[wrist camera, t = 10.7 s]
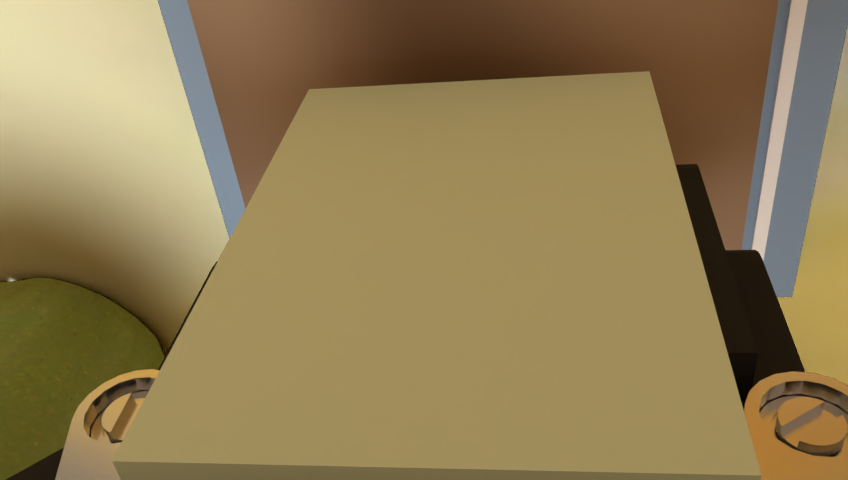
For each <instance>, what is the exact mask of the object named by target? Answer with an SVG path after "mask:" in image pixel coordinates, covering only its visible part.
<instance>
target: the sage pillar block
mask: <svg viewBox="0 0 848 480" xmlns="http://www.w3.org/2000/svg"><path fill="white" fill-rule="evenodd" d="M112 462H113V464H114V466H115V468H116V470H117V472H118V474H119V476H120V478H121V480H761V476H762V475H761V471H760V468H759V464H758V460H757V457H756V453H755V450H754V446H753V442H752V439H751V435H750V432H749V428H748V424H747V421H746V417H745V414H744V410H743V406H742V403H741V399H740V396H739V392H738V388H737V385H736V381H735V378H734V374H733V370H732V367H731V363H730V360H729V356H728V352H727V349H726V345H725V342H724V338H723V334H722V331H721V327H720V324H719V320H718V316H717V313H716V309H715V306H714V302H713V298H712V295H711V291H710V288H709V284H708V280H707V277H706V273H705V270H704V266H703V262H702V259H701V255H700V252H699V248H698V244H697V241H696V237H695V234H694V230H693V226H692V223H691V219H690V216H689V212H688V208H687V205H686V201H685V198H684V194H683V190H682V187H681V183H680V180H679V176H678V172H677V169H676V165H675V162H674V158H673V154H672V151H671V147H670V144H669V140H668V136H667V133H666V129H665V126H664V122H663V118H662V115H661V111H660V108H659V104H658V100H657V97H656V93H655V90H654V86H653V82H652V79H651V75H650V72H649V71H644V72H625V73H606V74H587V75H568V76H550V77H531V78H512V79H493V80H474V81H455V82H436V83H417V84H398V85H379V86H361V87H342V88H323V89H309V90H308V92H307V94H306V96H305V98H304V100H303V101H302V103H301V105H300V107H299V109H298V111H297V113H296V115H295V117H294V118H293V120H292V122H291V124H290V126H289V128H288V130H287V132H286V134H285V135H284V137H283V139H282V141H281V143H280V145H279V147H278V149H277V151H276V152H275V154H274V156H273V158H272V160H271V162H270V164H269V166H268V168H267V169H266V171H265V173H264V175H263V177H262V179H261V181H260V183H259V184H258V186H257V188H256V190H255V192H254V194H253V196H252V198H251V200H250V201H249V203H248V205H247V207H246V209H245V211H244V213H243V215H242V217H241V218H240V220H239V222H238V224H237V226H236V228H235V230H234V232H233V234H232V235H231V237H230V239H229V241H228V243H227V245H226V247H225V249H224V251H223V252H222V254H221V256H220V258H219V260H218V262H217V264H216V266H215V268H214V269H213V271H212V273H211V275H210V277H209V279H208V281H207V283H206V285H205V286H204V288H203V290H202V292H201V294H200V296H199V298H198V300H197V301H196V303H195V305H194V307H193V309H192V311H191V313H190V315H189V317H188V318H187V320H186V322H185V324H184V326H183V328H182V330H181V332H180V334H179V335H178V337H177V339H176V341H175V343H174V345H173V347H172V349H171V351H170V352H169V354H168V356H167V358H166V360H165V362H164V364H163V366H162V368H161V369H160V371H159V373H158V375H157V377H156V379H155V381H154V383H153V385H152V386H151V388H150V390H149V392H148V394H147V396H146V398H145V400H144V402H143V403H142V405H141V407H140V409H139V411H138V413H137V415H136V417H135V418H134V420H133V422H132V424H131V426H130V428H129V430H128V432H127V434H126V435H125V437H124V439H123V441H122V443H121V445H120V447H119V449H118V451H117V452H116V454H115V456H114V458H113V460H112Z"/></svg>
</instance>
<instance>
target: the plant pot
mask: <svg viewBox="0 0 848 480" xmlns="http://www.w3.org/2000/svg"><path fill="white" fill-rule="evenodd" d="M163 359H164V355H163V352H162V350H161V347H160V345H159V342H158V340H157V338H156V337H155V336H154V335H153V334H152V333H151V332H150V330H149V329H148V328H147V327H146V326H145V325H143V324H142V323H141V322H140V321H139V320H138V319H137V318H136V317H135V316H133V315H132V314H131V313H129V312H128V311H126V310H125V309H123V308H122V307H120V306H119V305H117V304H116V303H114V302H112V301H111V300H109V299H107V298H106V297H104V296H102V295H99V294H97V293H95V292H93V291H90V290H88V289H85V288H83V287H80V286H78V285H75V284H71V283H68V282H64V281H60V280H55V279H49V278H32V279H27V280H20V281H13V282H0V480H6V479H8V478H9V477H11V476H13V475H15V474H17V473H18V472H20V471H22V470H24V469H26V468H27V467H29V466H31V465H33V464H35V463H36V462H38V461H40V460H42V459H44V458H46V457H47V456H49V455H51V454H53V453H55V452H56V451H58V450H60V449H62V448H64V446H65V442H66V439H67V435H68V432H69V428H70V425H71V421H72V418H73V416H74V414H75V412H76V410H77V408H78V406H79V405H80V404H81V403H82V401H83V400H84V399H85V398H86V397H87V396H88V394H90V393H91V392H92V391H94V390H95V389H96V388H98V387H99V386H100V385H102V384H103V383H105V382H107V381H109V380H111V379H113V378H115V377H117V376H119V375H122V374H125V373H129V372H132V371H136V370H147V369H155V370H158V369H159V367H160V365H161V363H162V361H163Z"/></svg>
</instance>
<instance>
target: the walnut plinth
mask: <svg viewBox="0 0 848 480" xmlns="http://www.w3.org/2000/svg"><path fill="white" fill-rule="evenodd" d="M778 1H779V0H187V2H188V5H189V9H190V13H191V16H192V20H193V23H194V27H195V30H196V34H197V38H198V41H199V45H200V48H201V52H202V55H203V59H204V62H205V66H206V70H207V73H208V77H209V80H210V84H211V87H212V91H213V95H214V98H215V102H216V105H217V109H218V112H219V116H220V119H221V123H222V127H223V130H224V134H225V137H226V141H227V144H228V148H229V152H230V155H231V159H232V162H233V166H234V169H235V173H236V177H237V180H238V184H239V187H240V191H241V194H242V198H243V201H244V205H245V209H246V207H247V205H248V203H249V201H250V200H251V198H252V196H253V194H254V192H255V190H256V188H257V186H258V184H259V183H260V181H261V179H262V177H263V175H264V173H265V171H266V169H267V168H268V166H269V164H270V162H271V160H272V158H273V156H274V154H275V152H276V151H277V149H278V147H279V145H280V143H281V141H282V139H283V137H284V135H285V134H286V132H287V130H288V128H289V126H290V124H291V122H292V120H293V118H294V117H295V115H296V113H297V111H298V109H299V107H300V105H301V103H302V101H303V100H304V98H305V96H306V94H307V92H308V90H309V89H323V88H342V87H361V86H379V85H398V84H417V83H436V82H455V81H474V80H493V79H512V78H531V77H550V76H568V75H587V74H606V73H625V72H644V71H649V72H650V75H651V79H652V82H653V86H654V90H655V93H656V97H657V100H658V104H659V108H660V111H661V115H662V118H663V122H664V126H665V129H666V133H667V136H668V140H669V144H670V147H671V151H672V154H673V158H674V162H675V165H679V164H697V165H698V167H699V169H700V173H701V176H702V179H703V182H704V185H705V188H706V191H707V194H708V197H709V201H710V204H711V207H712V210H713V213H714V216H715V219H716V222H717V226H718V229H719V232H720V235H721V238H722V241H723V244H724V247H725V250H741V248H742V242H743V235H744V228H745V221H746V215H747V208H748V201H749V195H750V188H751V181H752V175H753V168H754V161H755V155H756V148H757V141H758V135H759V128H760V121H761V115H762V108H763V101H764V95H765V88H766V81H767V75H768V68H769V61H770V55H771V48H772V41H773V35H774V28H775V21H776V15H777V8H778Z"/></svg>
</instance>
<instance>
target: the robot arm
mask: <svg viewBox="0 0 848 480" xmlns="http://www.w3.org/2000/svg"><path fill="white" fill-rule="evenodd" d="M676 169H677V172H678V176H679V180H680V183H681V187H682V190H683V194H684V198H685V201H686V205H687V208H688V212H689V216H690V219H691V223H692V226H693V230H694V234H695V237H696V241H697V244H698V248H699V252H700V255H701V259H702V262H703V266H704V270H705V273H706V277H707V280H708V284H709V288H710V291H711V295H712V298H713V302H714V306H715V309H716V313H717V316H718V320H719V324H720V327H721V331H722V334H723V338H724V342H725V345H726V349H727V352H728V356H729V360H730V363H731V367H732V370H733V374H734V378H735V381H736V385H737V388H738V392H739V396H740V399H741V403H742V406H743V410H744V414H745V417H746V421H747V424H748V428H749V432H750V435H751V439H752V442H753V446H754V450H755V453H756V457H757V460H758V464H759V468H760V471H761V475H762V476H761V480H848V385H846V384H844V383H842V382H840V381H838V380H836V379H834V378H830V377H827V376H823V375H820V374H816V373H809V372H805V371H804V368H803V365H802V363H801V360H800V357H799V355H798V352H797V349H796V347H795V344H794V341H793V339H792V336H791V333H790V331H789V328H788V326H787V323H786V320H785V318H784V315H783V312H782V310H781V307H780V304H779V302H778V299H777V296H776V294H775V291H774V288H773V286H772V283H771V281H770V278H769V275H768V273H767V270H766V267H765V265H764V262H763V259H762V257H761V255H760V253H759V252H758V251H756V250H725V247H724V244H723V241H722V238H721V235H720V232H719V229H718V226H717V222H716V219H715V216H714V213H713V210H712V207H711V204H710V201H709V197H708V194H707V191H706V188H705V185H704V182H703V179H702V176H701V173H700V169H699V167H698V165H697V164H679V165H676ZM217 262H218V261H217ZM217 262H216V264H217ZM216 264H215V265H214V266H213V267H212V269H211V271H210V273H209V275H208V277H207V279H206V280H205V282H204V284H203V286H202V288H201V290H200V292H199V294H198V295H197V297H196V299H195V301H194V303H193V305H192V307H191V309H190V310H189V312H188V314H187V316H186V318H185V320H184V322H183V324H182V325H181V327H180V329H179V331H178V333H177V335H176V337H175V339H174V340H173V342H172V344H171V346H170V348H169V350H168V352H167V354H166V356H165V357H164V359H163V361H162V363H161V365H160V367H159V369H158V370H155V369H147V370H136V371H132V372H129V373H125V374H122V375H119V376H117V377H115V378H113V379H111V380H109V381H107V382H105V383H103V384H102V385H100V386H99V387H98V388H96V389H95V390H94V391H92V392H91V393H90V394H88V396H87V397H86V398H85V399H84V400H83V401H82V403H81V404H80V405H79V406H78V408H77V410H76V412H75V414H74V416H73V418H72V421H71V425H70V428H69V432H68V435H67V439H66V442H65V446H64V448H62V449H60V450H58V451H56V452H55V453H53V454H51V455H49V456H47V457H46V458H44V459H42V460H40V461H38V462H36V463H35V464H33V465H31V466H29V467H27V468H26V469H24V470H22V471H20V472H18V473H17V474H15V475H13V476H11V477H9V478H8V479H6V480H121V478H120V476H119V474H118V472H117V470H116V468H115V466H114V464H113V462H112V460H113V458H114V456H115V454H116V452H117V451H118V449H119V447H120V445H121V443H122V441H123V439H124V437H125V435H126V434H127V432H128V430H129V428H130V426H131V424H132V422H133V420H134V418H135V417H136V415H137V413H138V411H139V409H140V407H141V405H142V403H143V402H144V400H145V398H146V396H147V394H148V392H149V390H150V388H151V386H152V385H153V383H154V381H155V379H156V377H157V375H158V373H159V371H160V369H161V368H162V366H163V364H164V362H165V360H166V358H167V356H168V354H169V352H170V351H171V349H172V347H173V345H174V343H175V341H176V339H177V337H178V335H179V334H180V332H181V330H182V328H183V326H184V324H185V322H186V320H187V318H188V317H189V315H190V313H191V311H192V309H193V307H194V305H195V303H196V301H197V300H198V298H199V296H200V294H201V292H202V290H203V288H204V286H205V285H206V283H207V281H208V279H209V277H210V275H211V273H212V271H213V269H214V268H215V266H216Z"/></svg>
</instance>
